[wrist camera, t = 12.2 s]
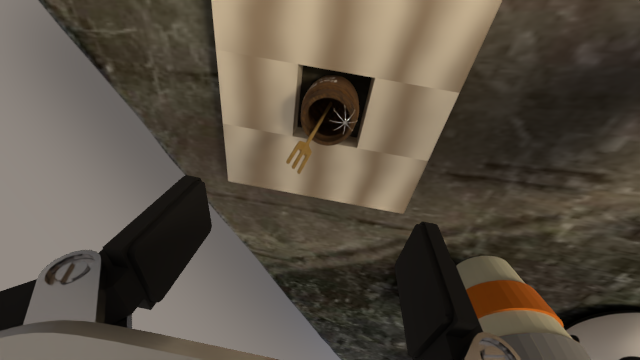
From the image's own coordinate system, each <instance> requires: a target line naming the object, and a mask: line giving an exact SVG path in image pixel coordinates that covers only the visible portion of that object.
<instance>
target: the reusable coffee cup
mask: <svg viewBox="0 0 640 360" xmlns="http://www.w3.org/2000/svg"><path fill="white" fill-rule="evenodd" d="M456 267H457V269H458V272H459V274H460V277H461V279H462V281H463V284H464V286H465V289H466V291H467V294H468V296H469V298H470V301H471V303H472V306H473V308H474V311H475V313H476V315H477V318H478V320H479V323H480V325H481V327H482V330H483V332H487V333H491V334H494V335H496V336H498V337H500V338H501V339H503V340H504V341H506V342H507V343H508V344H509V345H510V346H511V347H512V348H513V349H514V350H515V352H516V353H517V354H518V355H519V357H520V358H521V360H591V359H590V357H589V356H588V354H587V352H586V350H585V349H584V347H583V346H582V345H581V344H580V343H579V342H577V341H575V340H574V339H572V337H571V336H570V335H569V334H568V333H567V332H566V330H565V329H564V328H563V327H564V325H563V322H562V321H561V319H560V318H559V317H558V316H557V315H556V314H555V313H554V311H553V310H552V309H551V308H550V307H549V306H548V305H547V303H546V302H545V301H544V300H543V299H542V298H541V297H540V295H539V294H538V293H537V292H536V291H535V290H534V289H533V288H532V287H531V286H529V285H527V284H525V283H524V281H523V280H522V279H521V278H520V277H519V276H518V274H517V273H516V272H515V271H514V270H513V269H512V267H511V266H510V265H509V264H508V263H507V262H506V261H505V260H503V259H501V258H498V257H494V256H478V257H473V258H469V259H467V260H464V261H463V262H461V263H459V264H458V265H457V266H456Z"/></svg>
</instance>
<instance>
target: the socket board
mask: <svg viewBox="0 0 640 360" xmlns="http://www.w3.org/2000/svg"><path fill="white" fill-rule="evenodd" d="M211 2H212V12H213V23H214V34H215V44H216V55H217V66H218V77H219V87H220V98H221V109H222V119H223V130H224V141H225V152H226V162H227V173H228V181H230V182H235V183H241V184H246V185H251V186H257V187H262V188H267V189H273V190H278V191H283V192H289V193H294V194H300V195H305V196H310V197H316V198H321V199H326V200H332V201H337V202H342V203H348V204H353V205H358V206H364V207H369V208H374V209H380V210H385V211H390V212H396V213H401V214H404V212H405V209H406V207H407V205H408V203H409V201H410V199H411V196H412V194H413V192H414V190H415V188H416V186H417V184H418V181H419V179H420V177H421V175H422V173H423V171H424V168H425V166H426V164H427V162H428V160H429V158H430V155H431V153H432V151H433V149H434V147H435V145H436V142H437V140H438V138H439V136H440V134H441V132H442V130H443V127H444V125H445V123H446V121H447V119H448V117H449V114H450V112H451V110H452V108H453V106H454V104H455V101H456V99H457V97H458V95H459V93H460V91H461V88H462V86H463V84H464V82H465V80H466V78H467V75H468V73H469V71H470V69H471V67H472V65H473V63H474V60H475V58H476V56H477V54H478V52H479V50H480V47H481V45H482V43H483V41H484V39H485V37H486V34H487V32H488V30H489V28H490V26H491V24H492V21H493V19H494V17H495V15H496V13H497V11H498V9H499V6H500V4H501V2H502V0H211ZM303 65H305V66H311V67H316V68H322V69H328V70H333V71H339V72H345V73H350V74H356V75H361V76H367V77H372V79H371V83H370V87H369V91H368V95H367V99H366V103H365V107H364V111H363V115H362V119H361V123H360V127H359V131H358V135H357V138H355V137H350V136H349V137H348V138H347V139H346V140H344V141H343V142H341V143H339V144H336V145H331V146H325V145H320V144H318V143H316V142H314V141H312V140H311V142H310V144H309V147H310V149H311V151H312V153H311V155H310V157H309V159H308V161H307V162H306V164H305V166H304V168H303V170H302V171H301V173H300V174H298V173H297V171H298V169H299V167H300V165H301V163H302V161H303V160H304V158H305V156H304V155H303V156H302V157H301V159H300V161H299V162H298V164H297V166H296V167H295V169H292V165H293V163H294V161H295V160H296V158H297V156H298V155H299V153H300V151H299V150H298V151H297V152H296V154H295V155H294V157H293V158H292V160H291V162H290V163H289V164H287V163H286V161H287V159H288V157H289V156H290V154H291V153H292V151H293V149H294V148H295V146H296V145H297V143H298V142H299V141H303V142H305V143H306V141H307V139H308V138H309V137H308V136H307V135H306V134H305V132H304V130H303V128H300V127H297V125H298V115H299V104H300V93H301V83H302V72H303Z"/></svg>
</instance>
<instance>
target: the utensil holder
mask: <svg viewBox="0 0 640 360" xmlns="http://www.w3.org/2000/svg"><path fill="white" fill-rule="evenodd" d="M358 115H359V100H358V95H357V92H356V90H355V88H354V86H353V85H352V84H351V83H350V82H349V81H348V80H347V79H346V78H344V77H341V76H338V75H327V76H324V77H321V78H320V79H318V80H317V81H315V82H314V83H313V84H312V86H311V87H310V88H309V90H308V91H307V93H306V95H305V97H304V99H303V102H302V107H301V124H302V128H303V130H304V132H305V134H306V135H307V136H308V137H309V138H308V139H307V141H306V143H305V142H303V141H299V142H298V143H297V145H296V146H295V148H294V149H293V151H292V153H291V154H290V156H289V157H288V159H287V161H286V163H287V164H289V163H290V162H291V160H292V158H293V157H294V155H295V154H296V152H297V151H298V150H299V151H300V153H299V155H298V156H297V158H296V160H295V161H294V163H293V165H292V169H295V167H296V166H297V164H298V162H299V161H300V159H301V157H302V156H303V155H304V156H305V158H304V160H303V161H302V163H301V165H300V167H299V169H298V171H297V173H298V174H300V173H301V171H302V170H303V168H304V166H305V164H306V162H307V161H308V159H309V157H310V155H311V153H312V151H311V149H310V147H309V144H310V142H311V140H312V141H314V142H316V143H318V144H320V145H325V146H331V145H336V144H339V143H341V142H343V141H344V140H346V139H347V138H348V137H349V136H350V134H351V133H352V131H353V129H354V126H355V124H356V122H357V121H358Z"/></svg>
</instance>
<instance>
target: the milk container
mask: <svg viewBox="0 0 640 360" xmlns="http://www.w3.org/2000/svg"><path fill="white" fill-rule="evenodd" d="M565 330H566V332H567V333H568V334H569V335H570V336H571V337H572V339H574V340H575V341H577V342H579V343H580V344H581V345H582V346H583V347H584V349H585V350H586V352H587V354H588V356H589V357H590V359H591V360H640V311H634V310H623V311H609V312H604V313H599V314H594V315H590V316H587V317H585V318H582V319H579V320H576V321H575V322H573V323H572V324H570V325H568V326H567V327H565Z"/></svg>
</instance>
